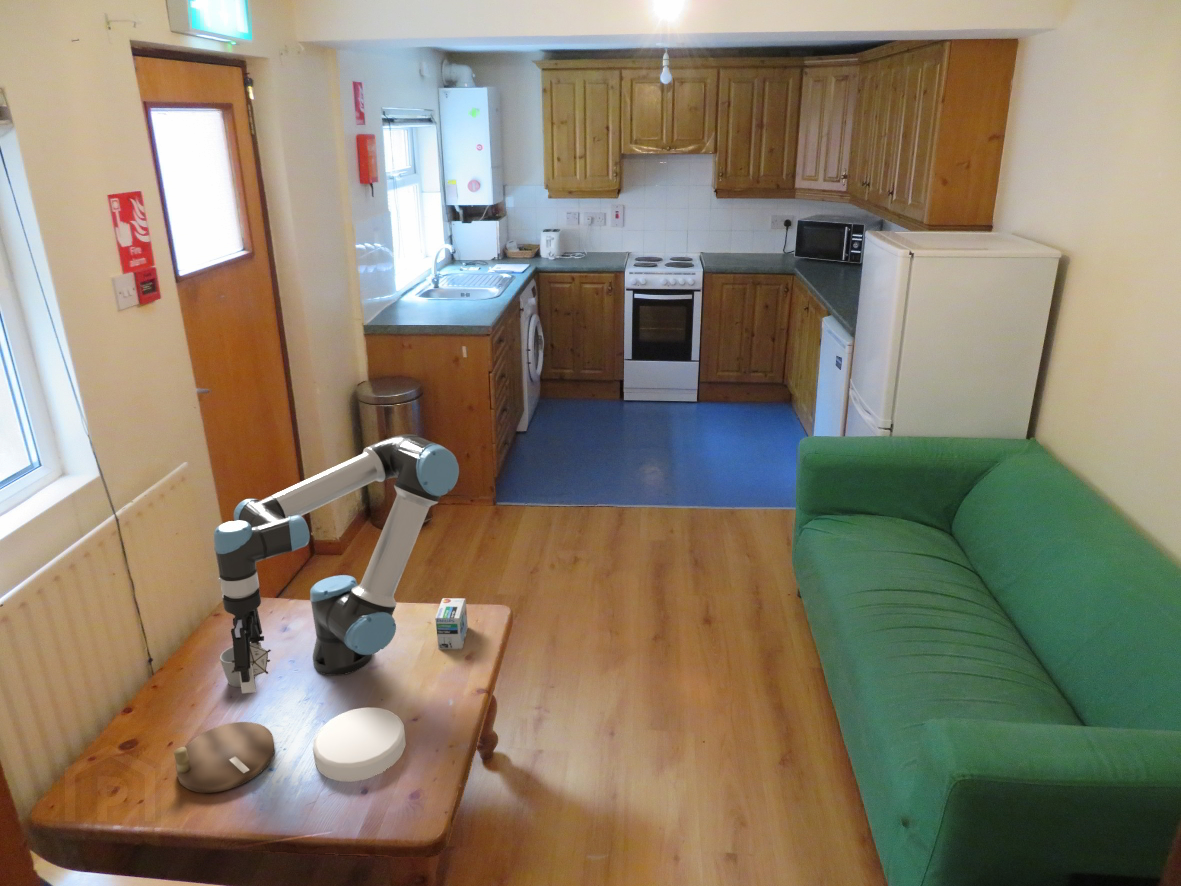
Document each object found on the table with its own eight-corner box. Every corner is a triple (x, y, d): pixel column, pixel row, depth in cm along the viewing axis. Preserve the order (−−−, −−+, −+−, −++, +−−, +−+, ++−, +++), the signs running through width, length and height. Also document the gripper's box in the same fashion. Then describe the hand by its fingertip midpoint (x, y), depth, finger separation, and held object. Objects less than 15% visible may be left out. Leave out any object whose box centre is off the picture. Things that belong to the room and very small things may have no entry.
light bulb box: (462, 653, 220) (459, 618, 216) (437, 653, 220) (434, 618, 216) (468, 630, 230) (466, 597, 226) (444, 630, 230) (442, 597, 226)
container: (310, 735, 190) (308, 719, 189) (397, 712, 198) (395, 696, 196) (319, 794, 173) (316, 776, 171) (414, 766, 180) (412, 749, 179)
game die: (282, 673, 188) (277, 636, 185) (256, 695, 180) (250, 656, 177) (251, 665, 191) (246, 628, 187) (224, 686, 183) (218, 647, 180)
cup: (219, 690, 206) (213, 661, 203) (240, 666, 216) (235, 638, 213) (247, 692, 205) (241, 663, 202) (267, 668, 215) (262, 640, 212)
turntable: (247, 717, 195) (242, 693, 193) (291, 755, 183) (287, 729, 180) (161, 763, 181) (155, 737, 179) (203, 807, 169) (197, 780, 166)
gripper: (234, 569, 187) (246, 654, 195) (209, 617, 167) (224, 710, 175) (268, 567, 189) (279, 652, 196) (248, 614, 169) (261, 707, 176)
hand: (253, 679), depth 185 cm, fingers closed on game die, 8 cm apart
